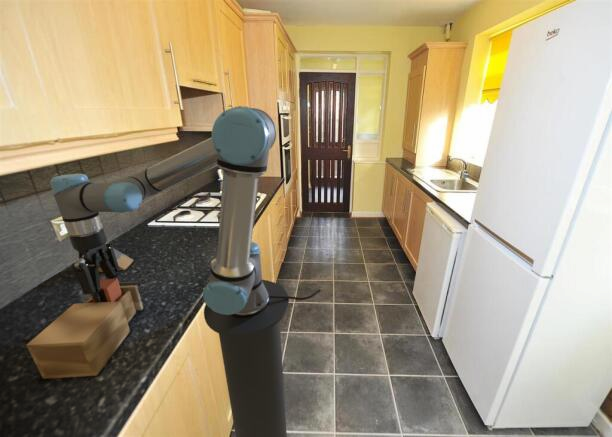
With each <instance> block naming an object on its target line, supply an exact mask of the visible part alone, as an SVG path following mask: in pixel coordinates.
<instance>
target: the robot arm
mask: <svg viewBox="0 0 612 437" xmlns="http://www.w3.org/2000/svg"><path fill="white" fill-rule="evenodd" d="M276 139H277V127H276V124H275V121H274V119H273V118H272V117H271V116H270V115H269V113H267V112H266V111H264V110H262V109H260V108H255V107H249V106H242V105H238V106H234V107H230V108H227V109H226V110H224V111H223V112H221V113H220V114H219V115H218V116H217V117H216V119H215V121H214V123H213V126H212V129H211V136H210V137H209V138H207V139H205V140H203V141H201V142H198V143H197V144H195V145H193V146H191V147H189V148H187V149H184V150H182V151H181V152H180V151H179V153H176V154H174V155H172V156H169V157H168V158H165V159H164V160H161V161H160V162H158V163H156V164H154V165H152V166H151V165H150V166H149V167H147V168H145V169H143V170H141V171H139V172H137V173H134V174H131V175H129V176H125V177H122V178H119V179H115V180H112V181H107V182H91V181H90V180H89V177H88V176H87V174H84V173H69V174H62V175H57V176H54V177H51V179H50V182H49V183H50V187H51V191H52V196H53V197H54V199H55V202H56V205H57V208H58V210H59V213H60V216H61V218H62V221H63V223H64V226H65V228H66V232H67V234H68V235H69V241H70V243H71V246H72V249H74V250H75V251H77V253H78V260H77V261H76V262H73V263H71V268H72V269H73V270H74V272H75V274H76V277H77V280H78V282H79V286H80V289H81V291H82V295H91V294H92V296H91V297H93V299H94V302H96V303H98V302H107V299H106V296H105V293H104V290H103V289H101V288H100V279H101V278H100V272H99V271H98V268H99V267H100V268H101V269H102V271H103V272H102V273H103V274H104V276H105V277H106V278H105V279H117V278H119V277H120V273H119V272H121V270H120V269H119V266H118V263H117V260H116V256H115V253H114V250H113V248H114V243H113V242H107V241H108V239H107V235H106V233H105V230H104V229H103V228H104V225H103V222H102V219H101V216H100V213H118V214H119V213H122V214H123V213H129V212H135V211H137V210H138V208H139V207H140V205H141V204H142V201H144V200H146V199H148V198H151V197H153V196H155V195H157V194H159V193H161V192H163V191H165V190H167V189H170V188H171V187H174V186H177V185H178V184H180V183H182V182H185V181H187V180H189V179H191V178H194V177H196V176H198V175H200V174H203V173H205V172H207V171H209V170H211V169H213V168H215V167H218V168H219V169H220V171H222V183H221V184H222V185H221V196H220V197H221V198H220V211H219V223H218V225H219V226H218V238H217V252H216V257H214V258H212V260H211V262H210V267H209V269H210V270H209V280H208V283H207V284H206V285H205V286H204V289H203V293H202V299H203V302H204V304H205V305H207V306H208V307H210V308H211V309H212V310H213V311H215V312H217V313H220V314H224V315H232V316H235V317H251V316H254V315H257V314H259V313H260V312H262V311H263V310H264V309H265V308H266V307H267V306H268V304H269V298H287V299H289V300H290V299H291V300H296V301H297V300H298V301H305V300H309V299H311V298H313V297H314V296H316V295H317V294H318V293H320V292H321V289H320V288H319V289H317V290H316V291H315V292H314V293H312V294H310V295H308V296H305V297H298V296H289V295H288V296H269V295H268V292H267V290H266V288H265V286H264V284H263V282H262V280H263V273H262V272H263V271H262V261H261V260H262V259H261V258H262V257H261V250H260V245H259V244H258V243H256V242H253V232H254V226H255V225H254V224H255V216H256V209H257V208H256V207H257V199H258V191H259V183H260V178H261V177H262V176H263V175H264V174H266V173H267V170H268V164H269V156H270V150H271V149H272V147H273V146H274V144H275V142H276V141H277V140H276ZM114 267H115V268H114Z"/></svg>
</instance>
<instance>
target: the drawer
mask: <svg viewBox="0 0 612 437" xmlns="http://www.w3.org/2000/svg"><path fill="white" fill-rule="evenodd" d="M119 285H120V289H121V292H122V295H123V296H122V297H121V298H120V300H119V301H121V303H122V306H123V310H124V313H125V316H126V319H127V322H128V323H129V322H130V321H131V320H132V319H133V317H134V316H135V315H136V314H137V311H142V310H143V309H144V305H143V302H142V298H141V295H140V290H139V288H138V287H140V286H141V285H142V283H141V281H125V282H124V281H123V282H121V281H119ZM119 301H118V302H119ZM85 303H94V302H93V299H92V296H90V298H89V299H88V300H87V301H85Z"/></svg>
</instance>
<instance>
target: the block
mask: <svg viewBox="0 0 612 437" xmlns="http://www.w3.org/2000/svg"><path fill="white" fill-rule="evenodd" d="M99 279H100V288H101V289H103V290H104V293H105V296H106V299H107V302H118V301H119V300H120V298H121V297H122V296H123V295H122V292H121V289H120V285H119V283H120V281H119V279H118V278H116V279H106V278H99ZM90 297H92V294H90ZM92 299H93V297H92ZM93 302H94V299H93ZM94 303H96V302H94Z"/></svg>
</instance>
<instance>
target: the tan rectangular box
mask: <svg viewBox="0 0 612 437" xmlns="http://www.w3.org/2000/svg"><path fill="white" fill-rule="evenodd" d="M130 332H131V329H130V326H129V322H127V319H126V316H125V313H124V310H123V306H122V303H121V301H119V302H98V303H86V302H78V303H73V304H72V305H71V306H70V307H68V308H67V309H66V310H65V311H64V312H63V313H61V314H60V315H59V316H58V317H57V318H56V319H54V321H52V322H51V323H50V324H48V326H47V327H45V328H44V329H43V330H42V331H41V332H40V333H38V334H37V335H36V336H35V337H33V339H31V340H30V341H29V342H28V343H27V344H26V348H27V350H28V352H29V354H30V356H31V358H32V359H33V362H34V363H35V364H34V365H35V366H36V368H37V370H38V372H39V374H40V376H41V377H42V379H43V380H46V379H48V380H49V379H62V378H63V379H64V378H81V377H96V376H98V375H99V374H100V372H101V371H102V370H103V368H104V367H105V366H106V365H107V363H108V362H109V360H110V359H111V358H112V356H113V355H114V353H116V351H117V350H118V348H119V347H120V346H121V344H122V343H123V341H124V340H125V339H126V337H127V336H128V335H129V334H130Z"/></svg>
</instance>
